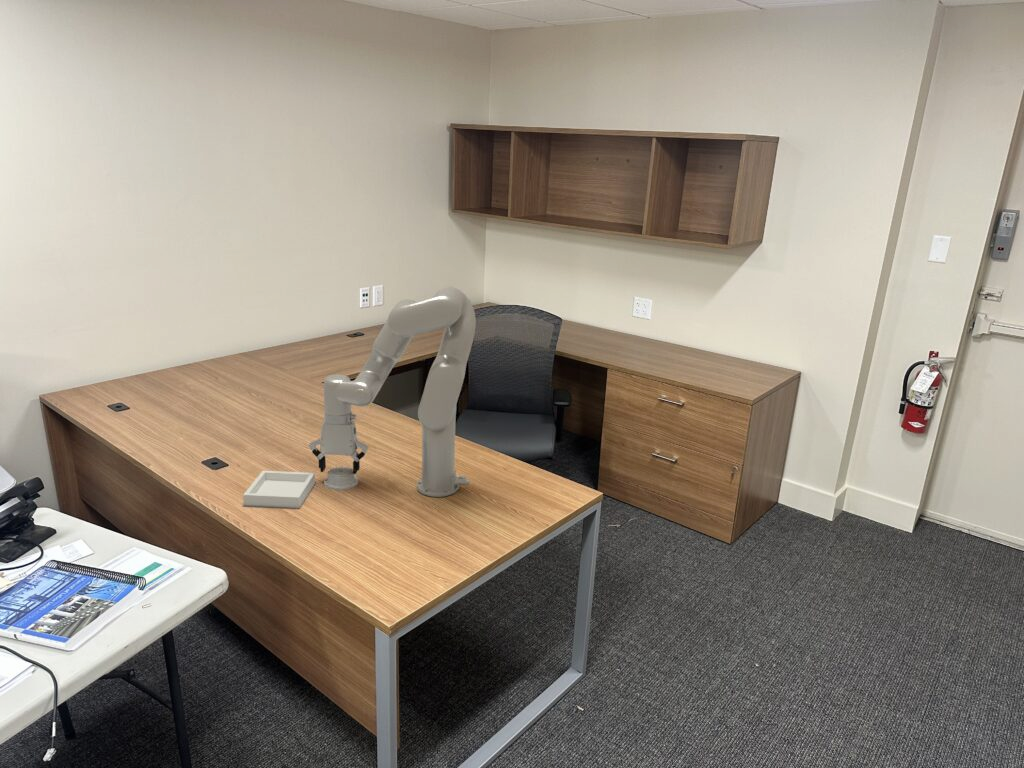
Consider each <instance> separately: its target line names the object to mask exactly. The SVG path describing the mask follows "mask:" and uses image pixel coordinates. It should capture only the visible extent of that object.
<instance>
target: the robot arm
mask: <svg viewBox="0 0 1024 768" xmlns="http://www.w3.org/2000/svg"><path fill="white" fill-rule="evenodd" d="M476 325H477V319H476V312H475V309H474V306H473V303H472V302H471V300H470V299H469V298H468V296H467V295H466V294H464V292H463V291H462V290H460V289H458V288H456V287H453V286H447V287H443V288H441V289H440V290H438V291H437V292H436V293H435V295H433V297H431V298H428V299H424V300H421V301H415V300H413V299H408V298H407V299H402V300H400V301H398V302H397V303H396V304H395V306H394V307H393V308H392V309H391V311H390V312H389V313H388V316H387V320H386V322H385V323H384V325H383V327H382V328H381V330H380V331H379V333H378V335H377V337H375V340H374V342H373V345H372V350H371V352H370V355H369V356H368V359H367V360H366V362H365V364H363V367H362V369H361V370H360V372H359V373H358V375H357V376H356V378H355V379H354V380H351V378H350V377H349V376H347V375H344V374H330V375H327V376H326V377H325V378H324V379H323V401H324V402H323V403H324V404H323V407H324V419H323V421H322V423H321V429H320V438H318V439H316V440H314V441H310V443H309V444H308V447H309V449H310V450H311V453H312V454H313V455H314V457H316V460H318V469H320V473H324V472H325V470H326V466H327V465H326V455H330V456H331V455H332V456H349V457H351V458H352V460H353V462H352V469H353V474H354V475H356V474H357V472H358V471H360V460H361V459H363V458H364V456H365V455H366V453H367V452H368V449H369V445H367V444H365V443H363V442H361V441H360V440H358V434H357V427H356V422H355V420H357V414H356V413H355V414H354V413H353V410H352V406H357V407H367V406H369V405H371V404H372V403H373V402H374V400H375V398H377V397H376V396H377V395H378V394H379V392H380V390H381V389H382V387H383V385H384V384H385V381H386V379H387V378H388V377H389V374H390V373H391V372H392V369H393V368H394V366H395V365H396V363H397V362H399V361H400V359H401V358H402V356H403V355H404V353H405V351H406V350H407V348H408V346H409V344H410V343H411V342H412V339H413V338H414V336H418V335H423V334H425V333H429V332H433V331H436V330H441V329H443V333H442V336H441V341H440V344H439V348H438V352H437V354H436V357H435V359H434V360H433V362H432V364H431V367H430V369H429V371H428V373H427V374H428V375H427V378H426V382H425V385H424V389H423V393H422V394H421V395H422V396H421V399H420V403H419V405H418V408H417V416H418V420H419V422H420V425H422V427H421V428H422V429H421V430H422V431H421V433H422V434H421V435H422V436H421V478H420V479H419V480H418V481H417V482H416V490H417V492H418V493H421V494H422V495H425V496H427V497H433V498H442V497H447V496H451V495H454V494H456V493H457V492H458V491H459V490H460V486H469V485H470V479H469V478H467V477H466V475H458V474H457V470H455V453H456V452H455V449H456V447H455V446H456V442H455V441H456V420H457V419H456V418H457V416H456V415H457V403H458V400H459V397H460V393H461V391H462V387H463V384H464V380H465V377H466V376H465V375H466V371H467V369H466V368H467V364H468V359H469V356H470V353H471V350H472V345H473V341H474V339H475V334H476V333H475V332H476V328H477V327H476ZM318 445H319V446H320V447H319V448H320V449H318V448H317V446H318ZM358 448H359V449H360V450H361V451H360V452H358Z"/></svg>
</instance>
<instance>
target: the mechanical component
mask: <svg viewBox="0 0 1024 768" xmlns="http://www.w3.org/2000/svg"><path fill="white" fill-rule="evenodd" d="M358 484H359V477H358V475H356V474H353V468H351V467H349V466H343V465H342V466H335V467H332V468H330V470H328V471H327V476H326V477H325V478H324V480H323V485H324V487H325V488H327V489H330V490H333V491H345V490H349V489H353V488H354V487H357V485H358Z"/></svg>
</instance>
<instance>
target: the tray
mask: <svg viewBox="0 0 1024 768" xmlns="http://www.w3.org/2000/svg"><path fill="white" fill-rule="evenodd" d="M315 482H316V473H315V472H303V471H302V472H298V471H282V470H281V471H278V470H276V471H275V470H262V471H261V472H260V474H258V476H257V477H256V478H255V480H253V482H252V483H251V484H250V485H249V487H248V489H246V491H245V492H244V493H243V495H242V498H243V505H248V506H270V507H291V508H300V509H301V507H302V506H301V505H303V504H304V503H305V501H306V500H307V498H308V496H309V494H310V493H311V491H312V490H311V489H313V488H314V486H315V485H316V483H315ZM314 484H315V485H314ZM312 487H313V488H312ZM309 492H310V493H309ZM307 495H308V496H307ZM306 497H307V498H306ZM304 500H305V501H304ZM302 503H303V504H302Z"/></svg>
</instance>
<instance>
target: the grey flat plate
mask: <svg viewBox="0 0 1024 768" xmlns="http://www.w3.org/2000/svg"><path fill="white" fill-rule="evenodd" d="M316 483H317V481H315V484H314V486H315V485H316ZM314 486H313V487H312V489H313V488H314ZM312 489H311V491H312ZM311 491H310V492H309V494H310V493H311ZM309 494H308V495H307V497H306V499H307V498H308V496H309ZM306 499H305V500H304V502H305V501H306ZM304 502H303V503H302V505H303V504H304ZM302 505H301V507H302ZM242 507H243V508H257V509H258V508H262V509H284V510H300V509H301V507H300V508H291V507H270V506H248V505H244V504H243V506H242Z"/></svg>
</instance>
